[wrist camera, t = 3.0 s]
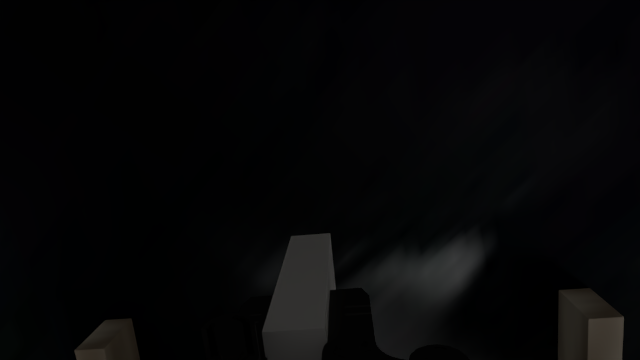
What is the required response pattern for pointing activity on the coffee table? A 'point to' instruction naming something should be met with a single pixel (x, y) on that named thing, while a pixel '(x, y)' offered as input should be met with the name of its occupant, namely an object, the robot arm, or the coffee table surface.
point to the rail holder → (573, 332)
